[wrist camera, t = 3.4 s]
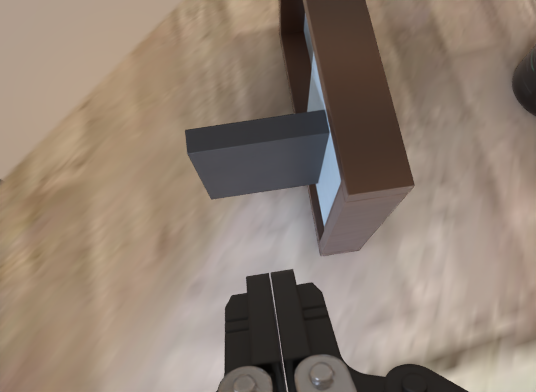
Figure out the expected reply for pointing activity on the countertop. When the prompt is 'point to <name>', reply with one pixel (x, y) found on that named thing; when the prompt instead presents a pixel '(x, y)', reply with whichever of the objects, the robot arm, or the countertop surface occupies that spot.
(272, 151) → the window pane
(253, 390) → the robot arm
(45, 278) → the countertop surface
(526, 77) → the supplement bottle
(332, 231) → the window frame
